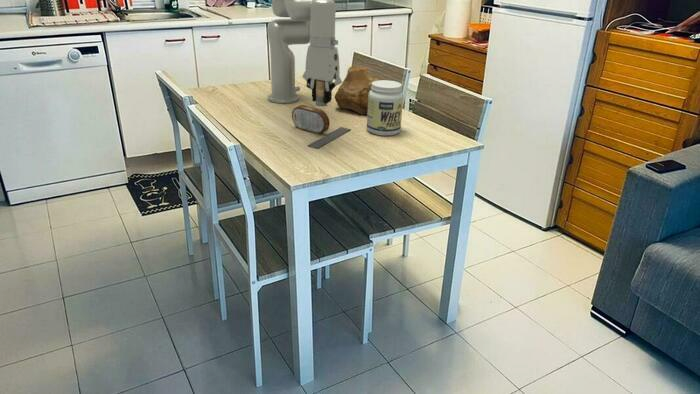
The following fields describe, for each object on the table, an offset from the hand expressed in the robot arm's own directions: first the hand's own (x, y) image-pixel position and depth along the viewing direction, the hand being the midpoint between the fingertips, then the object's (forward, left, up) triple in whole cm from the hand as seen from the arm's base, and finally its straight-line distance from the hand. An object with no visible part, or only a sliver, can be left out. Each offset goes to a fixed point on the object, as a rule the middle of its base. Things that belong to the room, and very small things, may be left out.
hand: (321, 100), depth 169 cm
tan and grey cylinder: (0, 0, -1) cm, 1 cm away
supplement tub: (-23, +12, -14) cm, 30 cm away
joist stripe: (-6, 0, -14) cm, 16 cm away
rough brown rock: (-41, -9, -15) cm, 44 cm away
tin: (-9, -10, -15) cm, 19 cm away
